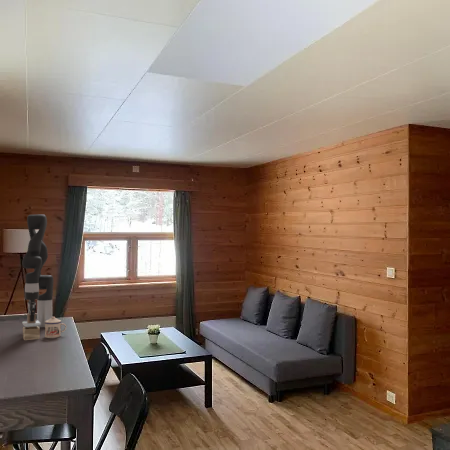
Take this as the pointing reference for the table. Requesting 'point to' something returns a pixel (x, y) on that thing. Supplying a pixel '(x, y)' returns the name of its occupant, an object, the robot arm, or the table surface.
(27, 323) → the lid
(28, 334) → the box
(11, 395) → the table surface
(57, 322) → the teacup with lid
